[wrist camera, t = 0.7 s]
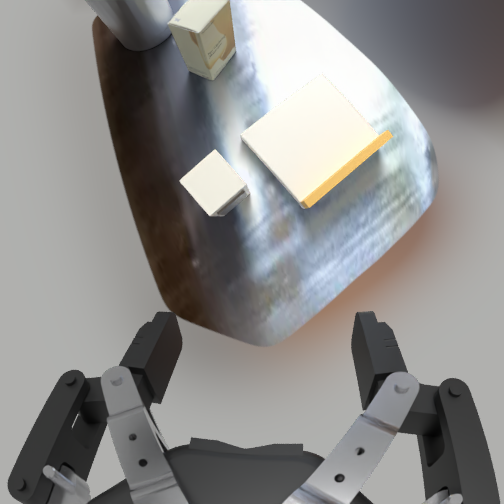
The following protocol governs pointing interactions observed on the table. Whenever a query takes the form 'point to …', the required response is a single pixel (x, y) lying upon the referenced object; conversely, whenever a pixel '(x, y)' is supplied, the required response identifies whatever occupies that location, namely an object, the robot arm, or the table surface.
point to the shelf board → (313, 140)
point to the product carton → (215, 185)
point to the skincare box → (204, 35)
